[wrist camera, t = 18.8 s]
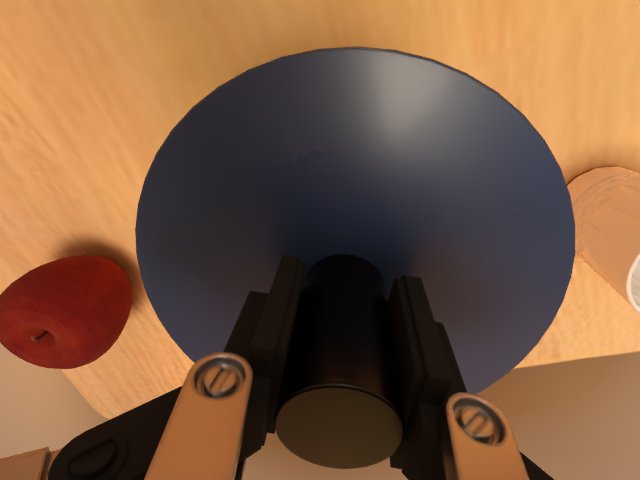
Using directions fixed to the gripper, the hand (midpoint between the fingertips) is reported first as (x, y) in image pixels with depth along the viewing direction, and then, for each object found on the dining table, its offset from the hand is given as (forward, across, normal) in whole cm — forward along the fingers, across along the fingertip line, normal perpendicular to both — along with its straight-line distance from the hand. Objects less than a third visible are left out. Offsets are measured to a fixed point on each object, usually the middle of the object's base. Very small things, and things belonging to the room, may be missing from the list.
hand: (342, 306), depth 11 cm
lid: (+2, 0, 0) cm, 2 cm away
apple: (+20, +22, +17) cm, 34 cm away
